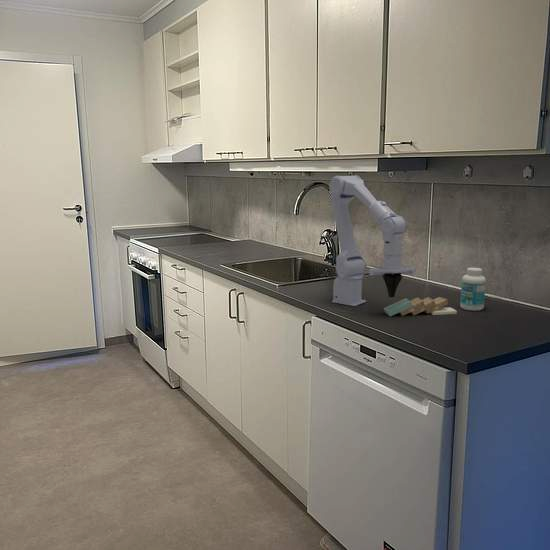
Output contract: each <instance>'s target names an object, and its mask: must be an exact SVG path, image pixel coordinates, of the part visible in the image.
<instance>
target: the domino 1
mask: <svg viewBox="0 0 550 550" xmlns="http://www.w3.org/2000/svg"><path fill="white" fill-rule="evenodd" d="M410 307H412V303H411V300H409V299H408V298H407V297H406V298H405V297H404V298H403V299H401V300H398V301H396V302H394V303H393V304H390V305H388V306H385V307H384V308H383V310H384V313H385V314H387V316H389V317H392V316H395V315H397V314H399V312H401V311H403V310H405V309H408V308H410Z"/></svg>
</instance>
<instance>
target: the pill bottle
mask: <svg viewBox="0 0 550 550" xmlns="http://www.w3.org/2000/svg"><path fill="white" fill-rule="evenodd" d="M466 273H467V274H465V275H463V276H462V277H461V289H460V301H459V305H460V308H461V309H463V310H465V311H475V312H477V311H482V310H483V309H484V307H485V298H486V297H485V296H486V284H487V283H486V281H487V280H486V279H487V278H486V277H485V276H484V275H482V273H483V268H479V267H467V269H466Z"/></svg>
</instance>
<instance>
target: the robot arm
mask: <svg viewBox="0 0 550 550" xmlns="http://www.w3.org/2000/svg"><path fill="white" fill-rule="evenodd" d="M328 187H329V192H330V198H331V206H332V211H333V219H334V222H335V227H336V234H337V237H338V243H339V248H340V252H339V254H338V255H337V256H336V257H335V262H336V265H335V266H336V267H335V270H336V271H335V272H336V274H337V277H335V279H334V280H333V285H332V286H333V288H332V289H333V293H332V295H333V298H332V301H331V303H334V304H340V305H341V304H342V305H346V306H351V307H357V306H359V305H361V304H365V303H366V302H367V300H366V299H362V287H363V286H362V283H363V280H362V279H363V278H364V275H365V274H366V272H367V269H368V264H367V261H366V260H365V258H364V254H363V253H362V252H361V251H360V250H359V249H358V248H357V244H356V240H355V239H356V238H355V234H354V230H353V224H352V219H351V218H352V217H351V213H350V207H349V204H350V203H351V201H352V200H353V199H355V198H357V199H358V200H359V201H360V202H361V203H363V204H364V206H366V207H367V208H368V214H369V215H370V216H371V217H372V218H373V220H375V222H376V223H377V224H378V225H379V229H380V232H381V235H382V240H383V260H382V261H383V262H382V267H374V268H373V267H371V268H369V269H368V275H369V276H382V278H383V281H384V283H385V285H386V286H385V287H386V289H387V296H388V297H389V298H395V295H396V291H397V289H398V287H399V284H400V283H401V281H402V280H403V275H416V268H415V267H410V266H409V267H406V266H405V267H404V266H402V261H403V241H404V240H403V239H404V234H405V233H406V232H407V228H408V222H407V220H406V218H405V216H402V215H397V214H396V212H394V211H393V210H392V209H391V208H390V207H388V204H387V202H385V201H382V200H377V199H376V198H375V196H373V194H372V193H371V191H370V190H368V189H369V188H367V187H366V185H365V181H364V180H363V179H362V178H361V177H360V176H359V175H357V174H354V175H335V176H333V177H332V178H331V181H330V183H329V184H328Z"/></svg>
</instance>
